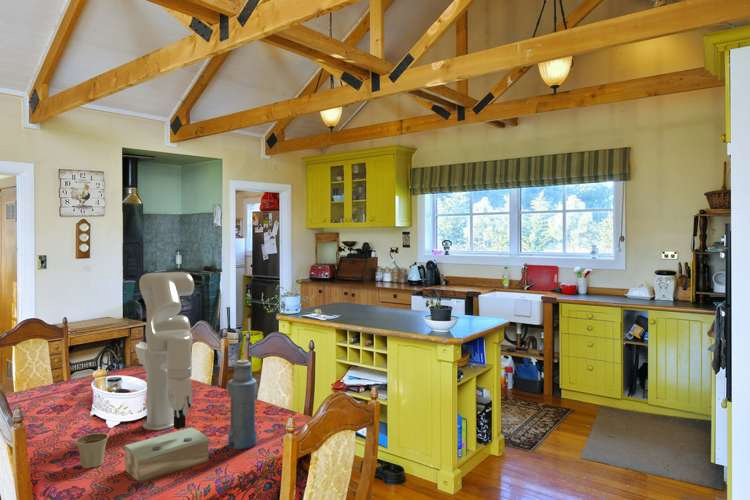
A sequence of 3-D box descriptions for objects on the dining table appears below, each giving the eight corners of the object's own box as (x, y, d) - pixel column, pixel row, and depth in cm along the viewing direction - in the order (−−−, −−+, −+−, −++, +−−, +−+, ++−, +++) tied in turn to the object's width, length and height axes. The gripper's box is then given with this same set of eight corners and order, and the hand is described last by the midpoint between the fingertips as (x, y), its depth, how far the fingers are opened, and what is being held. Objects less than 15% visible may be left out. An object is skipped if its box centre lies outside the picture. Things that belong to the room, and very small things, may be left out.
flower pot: (84, 458, 171) (84, 433, 171) (113, 457, 172) (113, 432, 172) (70, 471, 162) (69, 444, 161) (101, 470, 162) (100, 443, 162)
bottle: (227, 441, 185) (226, 358, 185) (254, 437, 189) (254, 356, 188) (230, 451, 176) (229, 364, 176) (259, 447, 180) (258, 362, 179)
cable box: (125, 470, 162) (125, 448, 162) (192, 450, 178) (191, 430, 178) (139, 483, 154) (139, 460, 154) (208, 460, 169) (208, 439, 169)
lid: (125, 448, 162) (124, 444, 162) (191, 430, 178) (191, 426, 178) (139, 460, 153) (139, 456, 153) (208, 440, 169) (208, 436, 169)
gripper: (158, 369, 170) (158, 424, 171) (178, 380, 160) (178, 438, 161) (180, 365, 175) (180, 418, 176) (201, 375, 165) (201, 431, 166)
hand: (179, 427), depth 169 cm, fingers closed
